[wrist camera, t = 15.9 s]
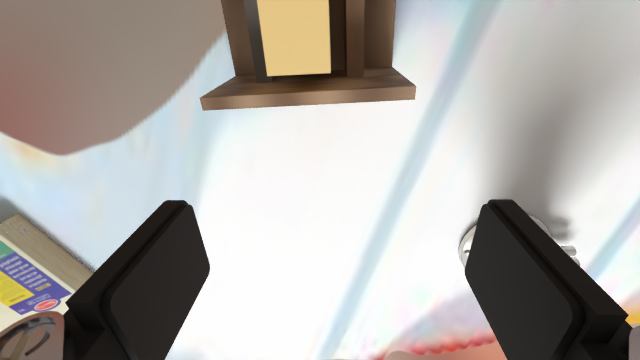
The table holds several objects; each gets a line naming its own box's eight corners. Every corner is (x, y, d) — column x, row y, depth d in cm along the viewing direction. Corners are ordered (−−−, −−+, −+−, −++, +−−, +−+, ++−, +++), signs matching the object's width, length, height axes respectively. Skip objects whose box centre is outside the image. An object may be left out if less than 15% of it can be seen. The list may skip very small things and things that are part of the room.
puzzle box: (-98, 278, 54) (18, 347, 64) (-132, 299, 50) (-3, 369, 60) (24, 209, 45) (136, 302, 55) (-6, 227, 41) (121, 325, 51)
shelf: (397, -91, 26) (441, -161, 16) (388, 74, 32) (414, 99, 22) (211, -74, 27) (139, -130, 16) (241, 82, 33) (202, 110, 23)
